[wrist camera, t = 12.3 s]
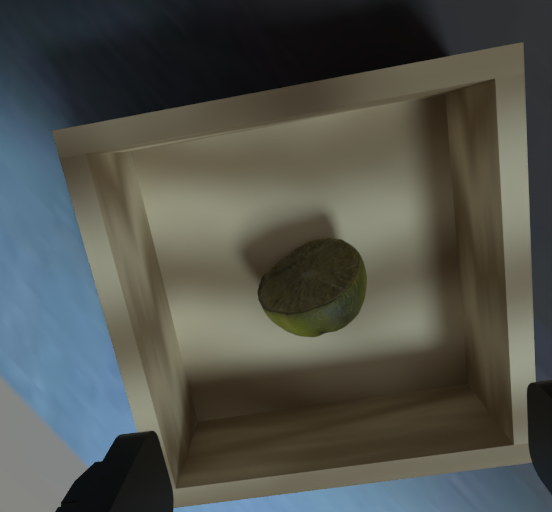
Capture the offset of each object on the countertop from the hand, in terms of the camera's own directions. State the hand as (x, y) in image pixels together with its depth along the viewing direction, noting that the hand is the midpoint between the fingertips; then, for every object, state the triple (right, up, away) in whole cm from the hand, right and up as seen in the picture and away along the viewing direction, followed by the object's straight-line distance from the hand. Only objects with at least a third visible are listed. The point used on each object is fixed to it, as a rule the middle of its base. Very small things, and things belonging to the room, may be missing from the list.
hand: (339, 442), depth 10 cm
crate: (0, +3, +14) cm, 14 cm away
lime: (+1, +3, +13) cm, 14 cm away
